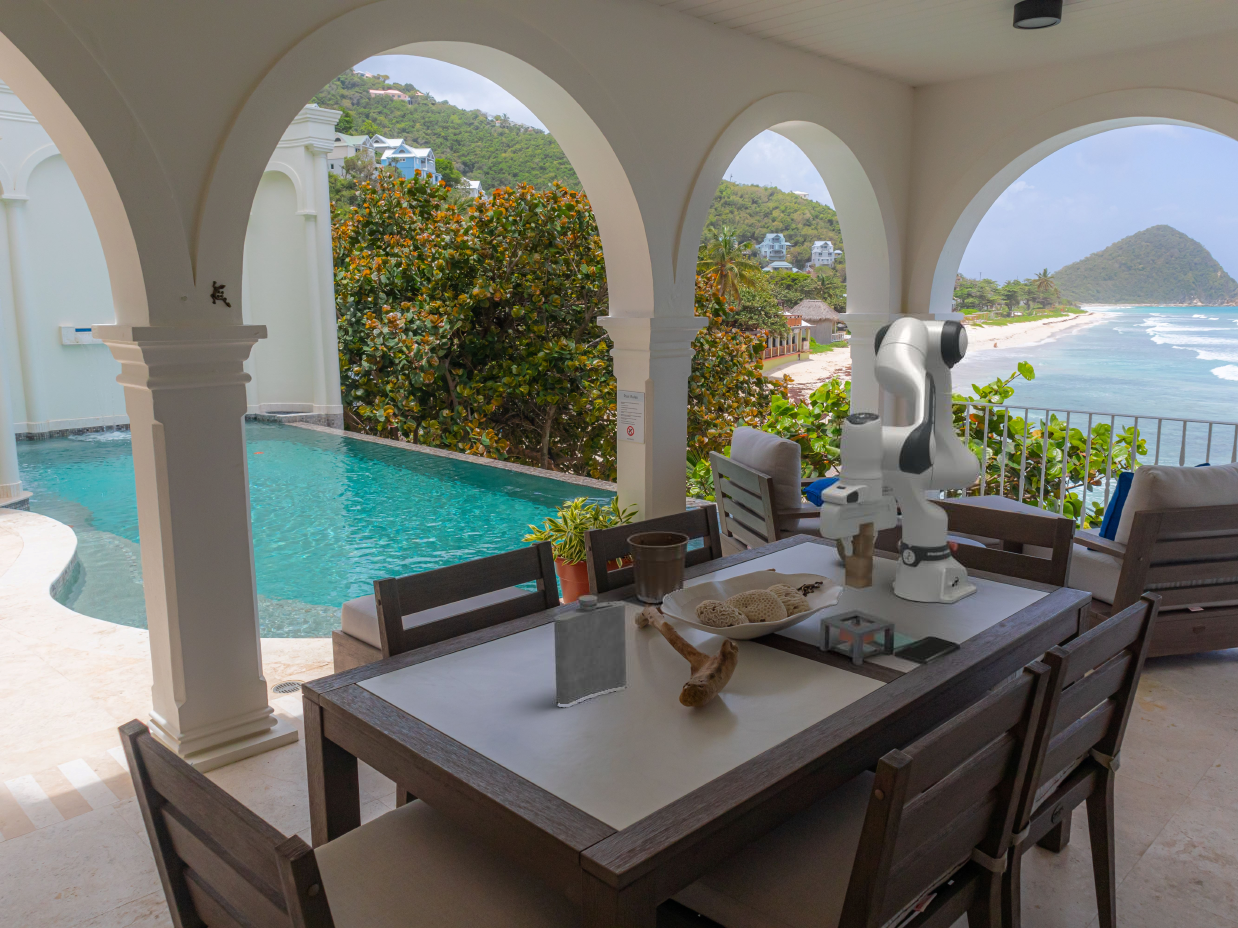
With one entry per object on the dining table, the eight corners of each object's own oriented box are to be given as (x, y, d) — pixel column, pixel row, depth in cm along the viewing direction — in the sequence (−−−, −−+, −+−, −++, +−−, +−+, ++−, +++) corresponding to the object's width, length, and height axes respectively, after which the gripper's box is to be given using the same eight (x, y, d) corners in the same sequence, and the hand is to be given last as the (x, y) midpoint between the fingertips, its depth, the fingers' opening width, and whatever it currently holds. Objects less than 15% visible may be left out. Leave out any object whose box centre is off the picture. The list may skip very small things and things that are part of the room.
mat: (890, 632, 204) (890, 630, 204) (918, 642, 197) (918, 640, 197) (866, 639, 200) (866, 637, 200) (894, 649, 193) (894, 647, 193)
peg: (858, 581, 193) (859, 519, 191) (872, 585, 189) (873, 522, 187) (845, 584, 191) (846, 521, 188) (859, 588, 187) (860, 524, 185)
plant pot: (616, 601, 230) (615, 541, 228) (647, 585, 244) (646, 528, 241) (671, 611, 222) (670, 549, 219) (700, 593, 235) (699, 535, 233)
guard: (855, 639, 200) (855, 609, 199) (893, 653, 191) (894, 623, 190) (819, 649, 194) (820, 618, 193) (857, 665, 185) (858, 633, 184)
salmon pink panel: (856, 633, 196) (856, 624, 195) (874, 640, 191) (874, 630, 191) (839, 638, 193) (839, 628, 193) (857, 645, 189) (857, 635, 188)
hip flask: (562, 709, 166) (559, 608, 163) (551, 702, 170) (547, 603, 167) (629, 687, 176) (627, 591, 173) (617, 681, 179) (615, 586, 176)
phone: (962, 644, 194) (925, 662, 184) (961, 649, 194) (925, 667, 184) (929, 635, 200) (892, 651, 190) (929, 640, 200) (892, 656, 190)
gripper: (882, 482, 195) (880, 543, 197) (815, 493, 184) (814, 557, 186) (905, 486, 190) (903, 549, 192) (837, 497, 179) (836, 563, 181)
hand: (858, 553), depth 189 cm, fingers closed on peg, 4 cm apart
